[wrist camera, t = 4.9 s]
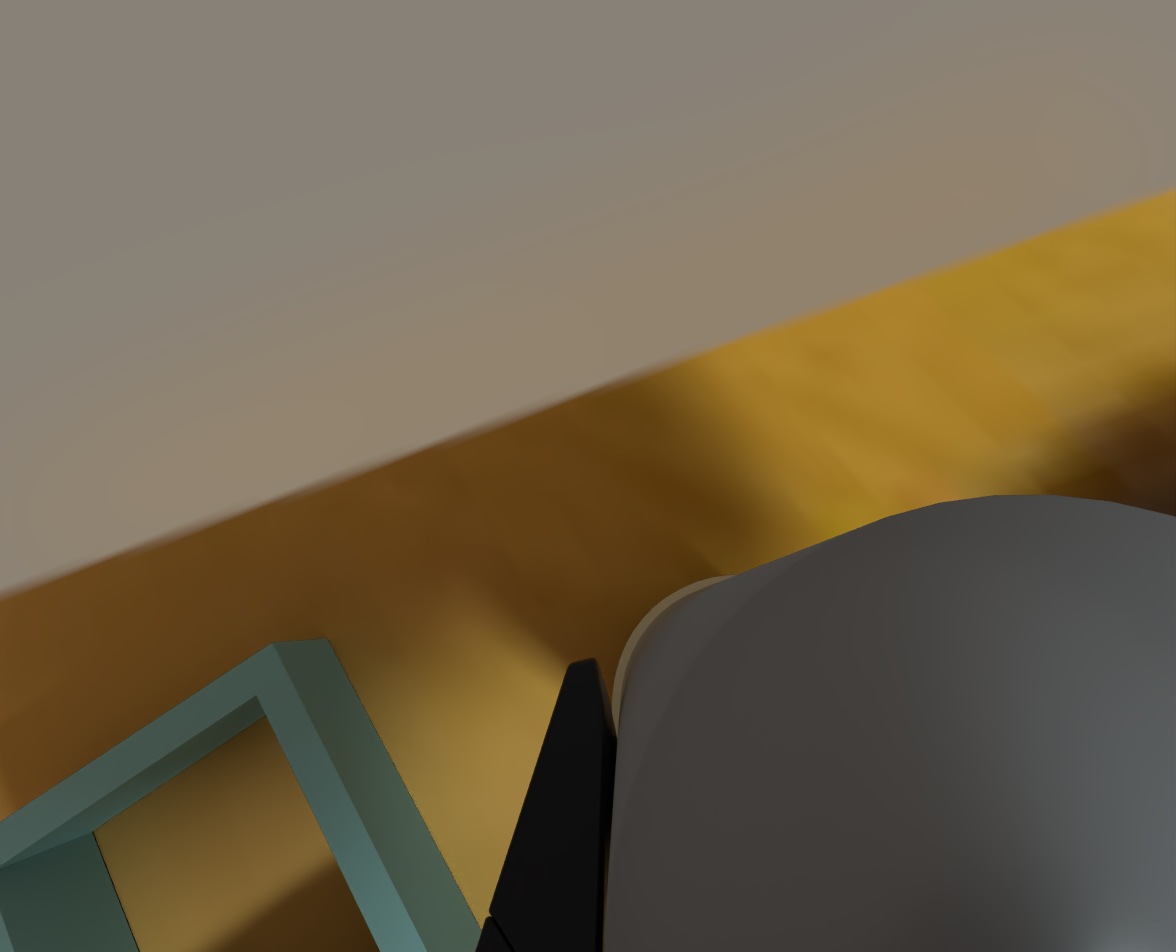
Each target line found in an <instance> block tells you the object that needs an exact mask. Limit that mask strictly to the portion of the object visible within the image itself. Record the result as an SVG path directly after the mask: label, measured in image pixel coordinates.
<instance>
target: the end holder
mask: <svg viewBox="0 0 1176 952" xmlns="http://www.w3.org/2000/svg"><path fill="white" fill-rule="evenodd" d="M265 715H266V716H267V718H268V721H269V723H270V725H271V727H272V729H273V731H274V733H275V735H276V737H277V739H278V741H279V743H280V745H281V747H282V750H283V752H284V754H285V756H286V758H287V760H288V762H289V764H290V766H291V768H292V770H293V772H294V774H295V776H296V778H297V781H298V783H299V785H300V787H301V789H302V791H303V793H304V795H305V797H306V799H307V801H308V803H309V805H310V807H311V809H312V812H313V814H314V816H315V818H316V820H317V822H318V824H319V826H320V828H321V830H322V832H323V834H324V836H325V838H326V840H327V843H328V845H329V847H330V849H331V851H332V853H333V855H334V857H335V859H336V861H337V863H338V865H339V867H340V869H341V871H342V874H343V876H344V878H345V880H346V882H347V884H348V886H349V888H350V890H351V892H352V894H353V896H354V898H355V900H356V902H357V905H358V907H359V909H360V911H361V913H362V915H363V917H364V919H365V921H366V923H367V925H368V927H369V929H370V931H371V934H372V936H373V938H374V940H375V942H376V944H377V946H378V948H379V950H380V952H475V950H476V947H477V944H478V941H479V938H480V935H481V929H480V927H479V925H478V924H477V922H476V920H475V918H474V916H473V914H472V912H471V910H470V908H469V907H468V905H467V903H466V901H465V899H464V897H463V895H462V893H461V891H460V889H459V888H458V886H457V884H456V882H455V880H454V878H453V876H452V874H451V872H450V870H449V869H448V867H447V865H446V863H445V861H444V859H443V857H442V855H441V853H440V851H439V850H438V848H437V846H436V844H435V842H434V840H433V838H432V836H431V834H430V833H429V831H428V829H427V827H426V825H425V823H424V821H423V819H422V817H421V815H420V814H419V812H418V810H417V808H416V806H415V804H414V802H413V800H412V798H411V796H410V795H409V793H408V791H407V789H406V787H405V785H404V783H403V781H402V779H401V778H400V776H399V774H398V772H397V770H396V768H395V766H394V764H393V762H392V760H391V759H390V757H389V755H388V753H387V751H386V749H385V747H384V745H383V743H382V741H381V740H380V738H379V736H378V734H377V732H376V730H375V728H374V726H373V724H372V723H371V721H370V719H369V717H368V715H367V713H366V711H365V709H364V707H363V705H362V704H361V702H360V700H359V698H358V696H357V694H356V692H355V690H354V688H353V686H352V685H351V683H350V681H349V679H348V677H347V675H346V673H345V671H344V669H343V668H342V666H341V664H340V662H339V660H338V658H337V656H336V654H335V652H334V650H333V649H332V647H331V645H330V643H329V641H328V639H327V638H325V639H312V640H299V641H287V642H274V643H271V644H269V645H268V646H266V647H265V648H263V649H262V650H260V651H259V652H257V653H256V654H254V655H253V656H251V657H250V658H248V659H247V660H245V661H243V662H242V663H240V664H239V665H237V666H236V667H234V668H233V669H231V670H230V671H228V672H227V673H225V674H224V675H222V676H221V677H219V678H218V679H216V680H215V681H213V682H212V683H210V684H209V685H207V686H206V687H204V688H203V689H201V690H200V691H198V692H196V693H195V694H193V695H192V696H190V697H189V698H187V699H186V700H184V701H183V702H181V703H180V704H178V705H177V706H175V707H174V708H172V709H171V710H169V711H168V712H166V713H165V714H163V715H162V716H160V717H159V718H157V719H156V720H154V721H153V722H151V723H150V724H148V725H146V726H145V727H143V728H142V729H140V730H139V731H137V732H136V733H134V734H133V735H131V736H130V737H128V738H127V739H125V740H124V741H122V742H121V743H119V744H118V745H116V746H115V747H113V748H112V749H110V750H109V751H107V752H106V753H104V754H103V755H101V756H99V757H98V758H96V759H95V760H93V761H92V762H90V763H89V764H87V765H86V766H84V767H83V768H81V769H80V770H78V771H77V772H75V773H74V774H72V775H71V776H69V777H68V778H66V779H65V780H63V781H62V782H60V783H59V784H57V785H56V786H54V787H53V788H51V789H49V790H48V791H46V792H45V793H43V794H42V795H40V796H39V797H37V798H36V799H34V800H33V801H31V802H30V803H28V804H27V805H25V806H24V807H22V808H21V809H19V810H18V811H16V812H15V813H13V814H12V815H10V816H9V817H7V818H6V819H4V820H3V821H1V822H0V952H139V951H138V949H137V946H136V944H135V941H134V939H133V936H132V933H131V931H130V928H129V926H128V923H127V921H126V918H125V915H124V913H123V910H122V908H121V905H120V903H119V900H118V898H117V895H116V892H115V890H114V887H113V885H112V882H111V880H110V877H109V874H108V872H107V869H106V867H105V864H104V862H103V859H102V856H101V854H100V851H99V849H98V846H97V844H96V841H95V838H94V836H93V833H92V831H94V830H95V829H97V828H98V827H100V826H101V825H103V824H104V823H106V822H107V821H109V820H110V819H111V818H113V817H114V816H116V815H117V814H119V813H120V812H122V811H123V810H125V809H126V808H128V807H129V806H131V805H132V804H134V803H135V802H137V801H138V800H140V799H141V798H143V797H144V796H146V795H147V794H149V793H150V792H152V791H153V790H155V789H156V788H158V787H159V786H161V785H162V784H164V783H165V782H167V781H168V780H170V779H171V778H173V777H174V776H176V775H177V774H179V773H180V772H182V771H183V770H185V769H186V768H188V767H189V766H191V765H192V764H194V763H195V762H197V761H198V760H200V759H201V758H203V757H204V756H206V755H207V754H209V753H210V752H211V751H213V750H214V749H216V748H217V747H219V746H220V745H222V744H223V743H225V742H226V741H228V740H229V739H231V738H232V737H234V736H235V735H237V734H238V733H240V732H241V731H243V730H244V729H246V728H247V727H249V726H250V725H252V724H253V723H255V722H256V721H258V720H259V719H261V718H262V717H264V716H265Z"/></svg>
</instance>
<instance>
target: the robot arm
mask: <svg viewBox="0 0 1176 952" xmlns="http://www.w3.org/2000/svg"><path fill="white" fill-rule="evenodd" d="M617 740H618V739H617V734H616V729H615V725H614V720H613V715H612V710H611V706H610V701H609V697H608V694H607V690H606V687H605V684H604V681H603V677H602V674H601V671H600V667H599V664H598V662H597V660H596V659H595V658H588V659H584V660H580V661H576V662H573V663H571V664H570V665H569V666H568V668H567V670H566V674H565V677H564V680H563V683H562V686H561V689H560V692H559V695H558V698H557V701H556V704H555V707H554V710H553V714H552V717H551V720H550V723H549V726H548V729H547V732H546V735H545V738H544V741H543V744H542V747H541V751H540V754H539V757H538V760H537V763H536V766H535V769H534V772H533V775H532V778H531V781H530V784H529V788H528V791H527V794H526V797H525V800H524V803H523V806H522V809H521V812H520V815H519V818H518V821H517V824H516V828H515V831H514V834H513V837H512V840H511V843H510V846H509V849H508V852H507V855H506V858H505V861H504V865H503V868H502V871H501V874H500V877H499V880H498V883H497V886H496V889H495V892H494V895H493V898H492V901H491V905H490V908H489V913H490V915H491V916H492V917H491V916H488V917H487V918H486V919H485V922H484V925H483V928H482V931H481V935H480V938H479V941H478V944H477V947H476V950H475V952H605V918H606V904H607V889H608V874H609V859H610V844H611V829H612V815H613V800H614V785H615V770H616V755H617Z"/></svg>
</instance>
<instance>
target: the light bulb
mask: <svg viewBox="0 0 1176 952" xmlns="http://www.w3.org/2000/svg"><path fill="white" fill-rule="evenodd" d="M612 715H613V720H614V725H615V729H616V734H617V739H618V740H617V755H616V770H615V785H614V800H613V815H612V829H611V844H610V859H609V874H608V889H607V904H606V918H605V952H1176V517H1174V516H1171V515H1166V514H1162V513H1158V512H1153V511H1149V510H1145V509H1140V508H1136V507H1132V506H1127V505H1123V504H1119V503H1114V502H1109V501H1100V500H1092V499H1083V498H1074V497H1065V496H1056V495H994V496H987V497H979V498H972V499H964V500H957V501H949V502H942V503H937V504H933V505H929V506H926V507H922V508H918V509H915V510H911V511H907V512H904V513H900V514H896V515H893V516H889V517H886V518H883V519H880V520H878V521H875V522H873V523H870V524H867V525H865V526H862V527H860V528H857V529H855V530H852V531H849V532H847V533H844V534H842V535H839V536H836V537H834V538H831V539H829V540H826V541H824V542H821V543H818V544H816V545H813V546H811V547H808V548H805V549H803V550H800V551H798V552H795V553H793V554H790V555H787V556H785V557H782V558H780V559H777V560H774V561H772V562H769V563H767V564H764V565H762V566H759V567H756V568H754V569H751V570H749V571H746V572H743V573H741V574H738V575H725V576H718V577H712V578H708V579H705V580H701V581H697V582H695V583H693V584H690V585H688V586H686V587H683V588H681V589H679V590H678V591H676V592H674V593H673V594H671V595H669V596H667V597H666V598H664V599H663V600H662V601H661V602H659V603H658V604H657V605H656V606H654V607H653V608H652V609H651V610H650V611H649V612H648V613H647V614H646V615H645V616H644V617H643V618H642V620H641V621H640V622H639V624H638V625H637V626H636V628H635V629H634V631H633V632H632V634H631V636H630V637H629V639H628V641H627V643H626V645H625V647H624V649H623V652H622V655H621V657H620V660H619V663H618V667H617V671H616V675H615V679H614V686H613V695H612Z"/></svg>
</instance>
